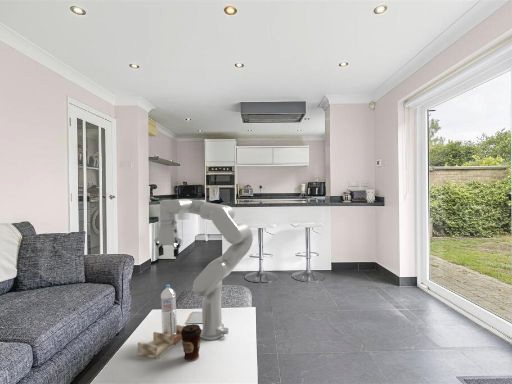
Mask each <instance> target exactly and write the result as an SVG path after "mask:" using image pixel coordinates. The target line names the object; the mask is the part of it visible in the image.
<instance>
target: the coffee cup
mask: <svg viewBox="0 0 512 384" xmlns="http://www.w3.org/2000/svg"><path fill="white" fill-rule="evenodd" d="M183 326H184V327H183V329H182V331H181V335H182V340H181V341H182V350H183V353H184V355H183V358H184V360H185V361H188V362H192V361H197V360H198V359H199V358H200V354H199V353H200V352H199V351H200V349H201V337H200V334H201V331H202V329H201V327H200V324H196V323H195V324H194V323H193V324H187V325H183Z"/></svg>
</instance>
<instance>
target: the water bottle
mask: <svg viewBox="0 0 512 384" xmlns="http://www.w3.org/2000/svg"><path fill="white" fill-rule="evenodd" d="M176 293H177V292H176V291H175V290H174V289H173V288H172V287H171V284H166V285H165V289H163V291H162V292H161V293H160V298H161V299H160V300H161V329H162V330H161V333H163V334H168V335H172V339H173V338H175V337H176V336H177V325H178V322H177V321H178V320H177V306H176V305H177V304H176V303H177V302H176V300H177V299H176Z"/></svg>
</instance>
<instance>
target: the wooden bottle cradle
mask: <svg viewBox="0 0 512 384" xmlns="http://www.w3.org/2000/svg"><path fill="white" fill-rule="evenodd" d="M184 326H185V325H181V324H177V336H176V337H175V338H173V339H172V335H168V334H163V333H162V332H156V331H153V335H152V336H153V341H152V342H150V343H146V342H140V341H139V342H137V355H138V356H143V357H147V358H151V359H155V360H157V359H158V358H159V357H161V356H162V355H163V354H164V353H166V352H167V351H168V350H169V349H171V348H172V347H173V346H176V345H178V344H179V343H180V342H181V341H182V335H181V331H182V329H183V327H184Z"/></svg>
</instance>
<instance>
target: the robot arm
mask: <svg viewBox="0 0 512 384" xmlns="http://www.w3.org/2000/svg"><path fill="white" fill-rule="evenodd" d="M181 214H193V215H198V216H200V218H201V219H203V220H208V221H212V224H214V225H213V226H215V228H216V229H217V230H218V232H219V233H220V234H221V236H222V237H223V238H224V240H225V241H226V242H227V243H229V244H231V245H230V246H229V247H228V248H227V249H226V250H225V252H224V253H223V254H221V256H218V257H217V258H215V259H214V260H211V262H209V263H207V265H206V266H205V268H204V269H203V270H201V272H200V273H199V274H198V275H197V276H196V277H195V279H194V281H193V282H192V289H193V292H194V293H195V294H196V295H197V296H200V297H201V313H202V314H201V315H202V317H201V318H202V319H201V320H202V329H201V330H202V331H201V334H200V339H203V340H206V341H215V340H218V339H220V338H223V337H224V336H225V335H228V334H229V328H228V327H225V325H224V323H223V321H222V320H223V318H222V315H223V314H222V287H223V279H225V278H226V277H228V276H229V275H230V274H231V273H232V271H233V270H234V269H235V268H236V267H237V265H239V263H240V262H241V261H242V260H243V258H245V256H246V255H247V254H248V253H249V250H250V249H251V248H252V244H253V239H254V238H253V232H252V229H251V228H250V226H249V224H246V223H237V224H236V223H235V221H234V220H233V219H234V218H235V210H234V208H233V207H232V206H229V205H226V204H219V203H214V202H213V203H212V202H207V201H202V200H198V199H192V198H179V199H178V198H177V199H163V200H160V201H159V224H160V225H159V227H158V237H156V238H155V239H154V243H155V246H156V247H157V249H158V257H161V256H164V254H165V253H164V246H172V247H173V248H174V249H173V257H174V258H176V257H179V255H180V253H179V252H180V251H179V249H180V247H181V246H182V244H183V242H184V241H183V239H181V238H180V237H179V231H178V226H177V225H176V224H177V220H176V215H181Z"/></svg>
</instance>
